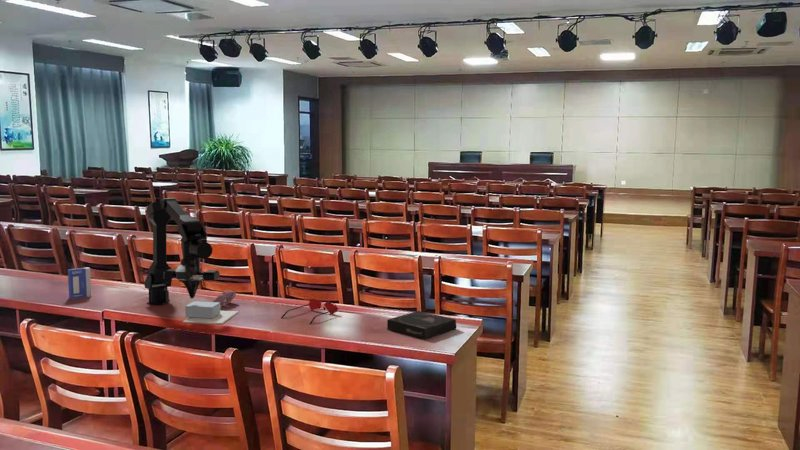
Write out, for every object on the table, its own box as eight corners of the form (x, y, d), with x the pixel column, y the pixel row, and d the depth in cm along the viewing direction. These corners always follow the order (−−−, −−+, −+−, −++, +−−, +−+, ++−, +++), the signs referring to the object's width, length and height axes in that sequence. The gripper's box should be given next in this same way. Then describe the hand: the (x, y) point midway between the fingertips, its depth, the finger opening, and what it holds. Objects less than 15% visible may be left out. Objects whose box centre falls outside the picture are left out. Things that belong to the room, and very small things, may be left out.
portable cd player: (456, 330, 214) (456, 319, 213) (424, 341, 201) (424, 329, 201) (419, 321, 225) (419, 310, 224) (387, 331, 212) (387, 319, 212)
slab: (185, 306, 221) (212, 307, 220) (193, 301, 228) (220, 302, 227) (185, 317, 222) (212, 318, 221) (193, 312, 229) (220, 313, 228)
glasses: (339, 315, 231) (339, 302, 231) (310, 325, 217) (310, 311, 217) (310, 310, 239) (310, 297, 238) (280, 319, 225) (280, 305, 224)
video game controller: (218, 312, 238) (225, 296, 236) (209, 306, 239) (215, 290, 237) (233, 306, 247) (239, 291, 246) (224, 300, 248) (230, 285, 247)
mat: (182, 322, 217) (182, 321, 217) (202, 311, 233) (201, 309, 233) (221, 324, 216) (221, 322, 216) (238, 312, 232) (238, 311, 232)
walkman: (71, 299, 249) (69, 269, 247) (69, 298, 251) (67, 268, 249) (92, 296, 254) (90, 267, 253) (89, 295, 256) (88, 266, 255)
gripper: (155, 258, 215) (156, 302, 217) (207, 259, 213) (208, 304, 215) (170, 253, 226) (171, 295, 228) (219, 254, 225) (220, 297, 226)
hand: (192, 298), depth 224 cm, fingers closed
